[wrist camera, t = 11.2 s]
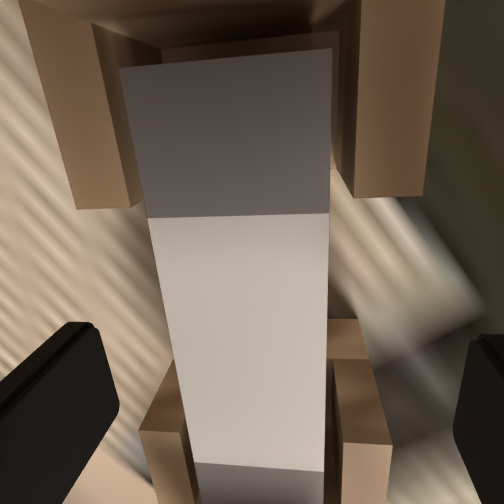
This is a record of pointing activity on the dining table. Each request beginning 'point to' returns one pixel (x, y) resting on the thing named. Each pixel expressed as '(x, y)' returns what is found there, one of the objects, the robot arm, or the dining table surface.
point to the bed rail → (242, 260)
